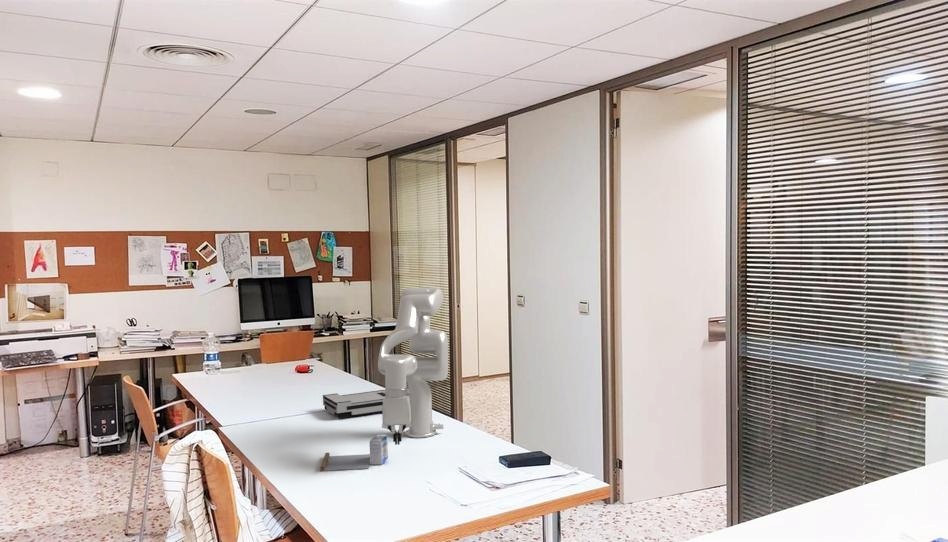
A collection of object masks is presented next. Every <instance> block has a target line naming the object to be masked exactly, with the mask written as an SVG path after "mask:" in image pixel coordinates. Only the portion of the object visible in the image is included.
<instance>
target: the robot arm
mask: <svg viewBox="0 0 948 542" xmlns="http://www.w3.org/2000/svg"><path fill="white" fill-rule="evenodd" d="M443 302H444V293H443V291H442V289H440V288H439V287H410V288H409V287H408V288H405V289H403V290H402V291H401V292H400V301H399V306H398V312H397V318H396V324H395V329H393V331H391V332H390V333H389V334H388V335H387V337H386V338H385V339H384V340H383V342H382V343H381V346H380V349H379V353H378V359H377V369H378V372H379V373H380V374H381V375H384V383H385V384H384V386H385V387H384V388H385V389H384V390H386V396H384V398H383V409H382V414H381V416H382V423H381V428H382V429H387V430H389V432H391V433H392V442H393V443H394V445H395V446H396V445H400V444H401V442H402V432H404V431H405V436H407V437H409V438H413V439H414V438H417V439H418V438H419V439H420V438H429V437H432V436H435V435H436V434H437V430H444V424H441V423H434V422H433V408H432V407H433V404H432V403H433V401H432V389H431V387H430V385H429V383H427V382H428V381H430V382H431V381H432V382H433V381H435V382H441V381H445V380H446V379H447V377H448V373H449V338H448V335H447V333H446V332H445V331H443V330H438V329H437V330H435V329H433V330H431V318H430V317H432V316H435V315H436V314H437V313H438V311H439V310H440V309H441V308H442V307H443ZM408 340H409V341H408ZM405 341H408V342H409V343H408V344H409V350H410V352H411V353H413V354H419V355H421V354H423V355H424V354H425V355H427V354H429V355H433V354H434V355H435V356H414V355H412V354H396V353H395V354H390V352H391V351H392V349H393V348H395V347H396V346H397V345H399V344H401V343H403V342H405ZM396 426H398V430H396Z"/></svg>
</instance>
